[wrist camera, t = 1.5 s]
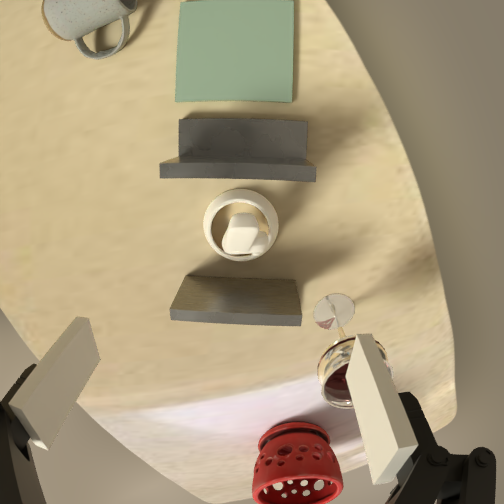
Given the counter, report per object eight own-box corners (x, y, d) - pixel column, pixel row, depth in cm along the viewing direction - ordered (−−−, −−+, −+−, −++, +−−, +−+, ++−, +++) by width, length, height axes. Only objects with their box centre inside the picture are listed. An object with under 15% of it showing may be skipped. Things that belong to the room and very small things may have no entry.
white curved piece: (289, 143, 24) (310, 225, 23) (267, 201, 36) (279, 261, 34) (194, 153, 23) (205, 240, 22) (201, 210, 35) (210, 272, 33)
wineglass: (302, 335, 37) (314, 410, 26) (309, 285, 35) (328, 356, 24) (355, 335, 37) (381, 406, 26) (367, 287, 35) (404, 353, 23)
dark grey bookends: (181, 119, 28) (159, 117, 22) (306, 122, 28) (319, 119, 22) (188, 312, 36) (174, 349, 30) (291, 316, 36) (296, 355, 30)
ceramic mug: (69, 3, 23) (32, -13, 16) (130, -30, 22) (102, -57, 14) (84, 74, 27) (43, 67, 19) (150, 41, 25) (120, 22, 18)
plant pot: (340, 443, 46) (350, 499, 35) (270, 460, 49) (270, 515, 37) (323, 403, 42) (334, 470, 31) (241, 424, 44) (236, 488, 33)
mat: (182, 4, 24) (180, 2, 23) (293, 2, 23) (293, 0, 23) (176, 102, 28) (175, 101, 27) (291, 102, 28) (291, 102, 27)
